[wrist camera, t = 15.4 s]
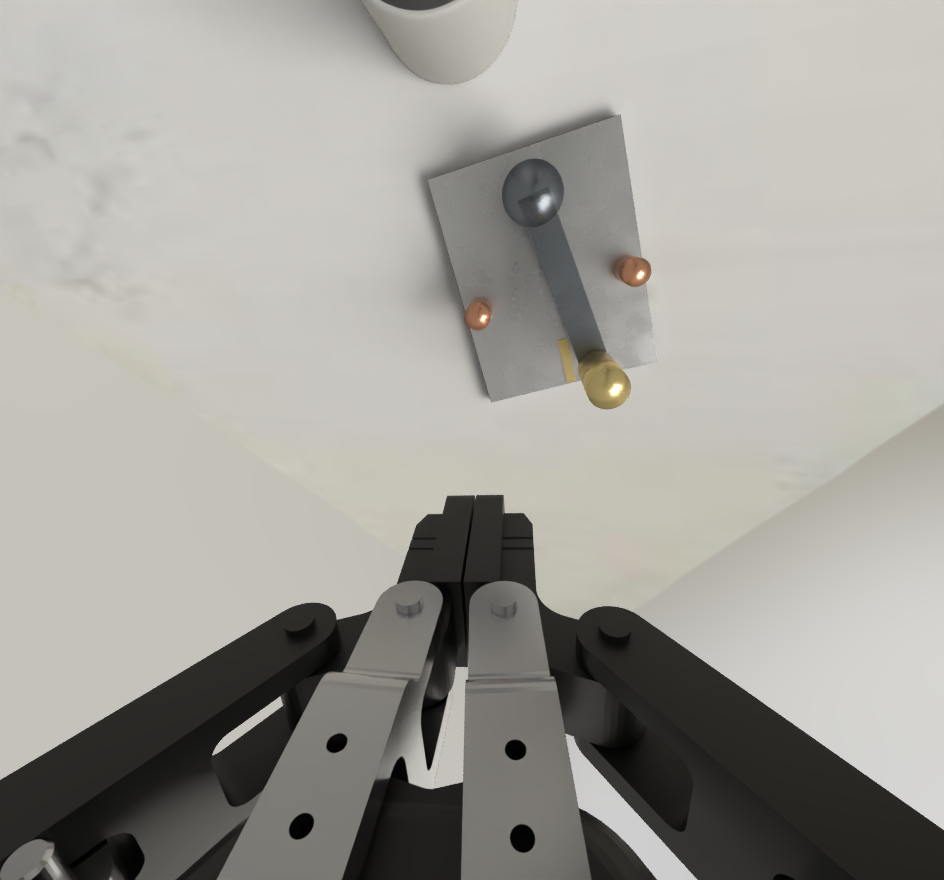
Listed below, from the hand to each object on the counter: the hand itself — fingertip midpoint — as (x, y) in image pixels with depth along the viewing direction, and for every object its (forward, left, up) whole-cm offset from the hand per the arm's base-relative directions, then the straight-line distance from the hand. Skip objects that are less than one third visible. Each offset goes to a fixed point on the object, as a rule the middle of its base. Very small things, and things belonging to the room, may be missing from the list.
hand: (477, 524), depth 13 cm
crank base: (-5, +2, -27) cm, 28 cm away
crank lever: (-5, +3, -25) cm, 25 cm away
